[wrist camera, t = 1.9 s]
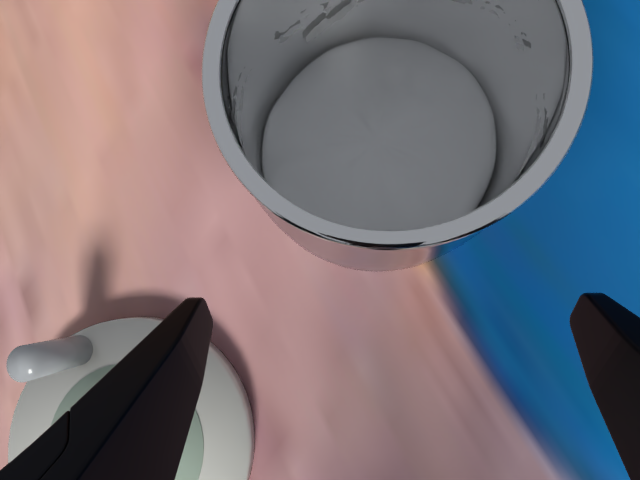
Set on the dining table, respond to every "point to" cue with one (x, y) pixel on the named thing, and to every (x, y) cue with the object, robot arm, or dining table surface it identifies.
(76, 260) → the dining table surface
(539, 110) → the beer glass
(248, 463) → the grey peg stand
